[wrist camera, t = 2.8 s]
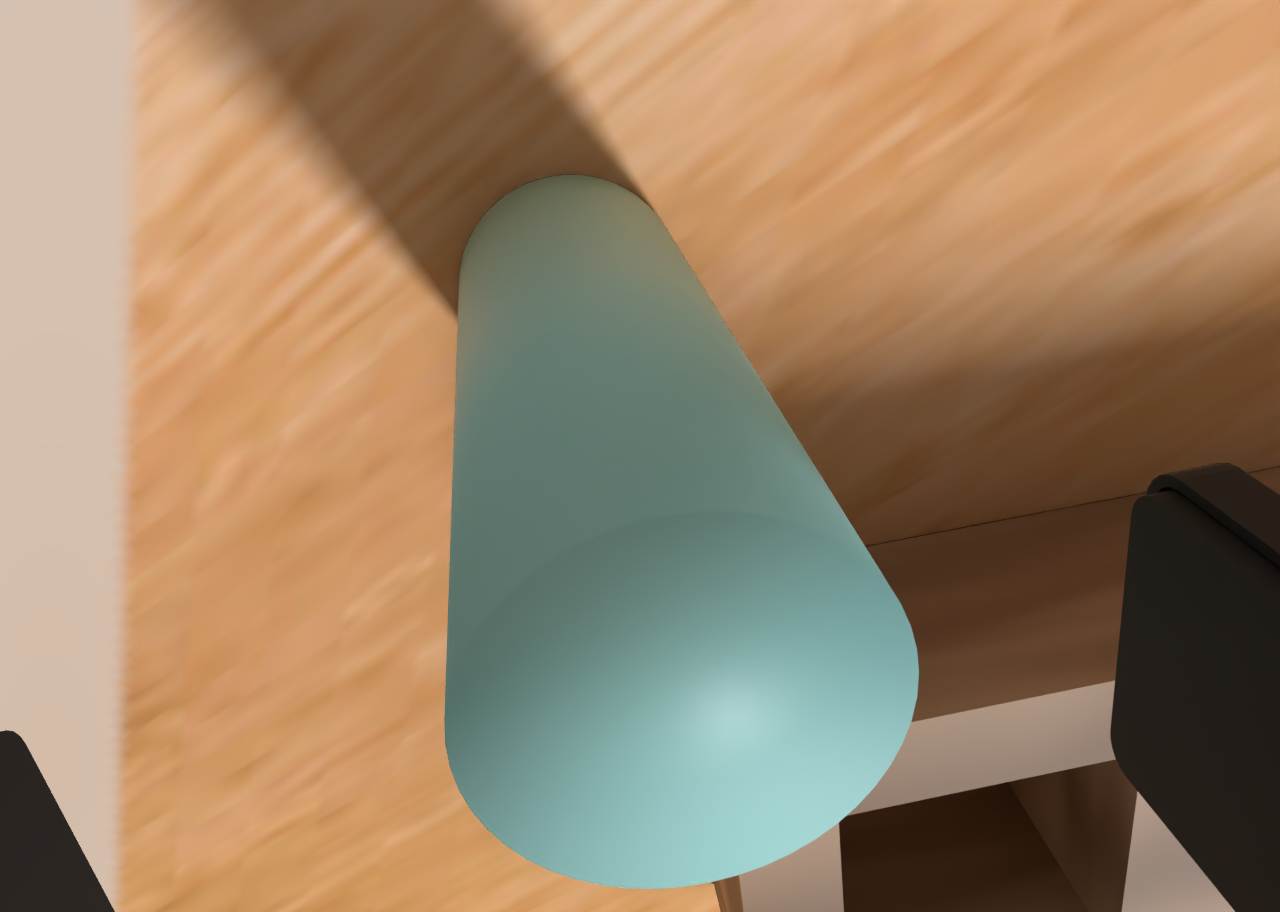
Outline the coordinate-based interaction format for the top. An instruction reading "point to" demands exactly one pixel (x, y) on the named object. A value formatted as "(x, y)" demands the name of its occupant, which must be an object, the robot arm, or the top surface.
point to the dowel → (646, 568)
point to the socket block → (1001, 742)
